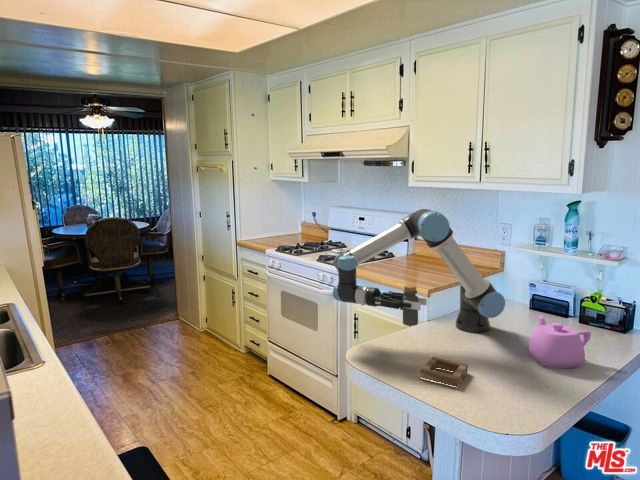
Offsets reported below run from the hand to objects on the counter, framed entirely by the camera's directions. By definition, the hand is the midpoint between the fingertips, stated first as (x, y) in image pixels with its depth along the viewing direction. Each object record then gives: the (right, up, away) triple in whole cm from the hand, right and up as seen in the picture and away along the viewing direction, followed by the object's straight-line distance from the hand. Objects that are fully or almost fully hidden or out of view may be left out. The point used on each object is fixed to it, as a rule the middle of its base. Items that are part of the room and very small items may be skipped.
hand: (423, 304), depth 168 cm
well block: (+5, -25, -9) cm, 27 cm away
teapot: (+50, -22, +1) cm, 55 cm away
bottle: (-4, -8, +4) cm, 10 cm away
